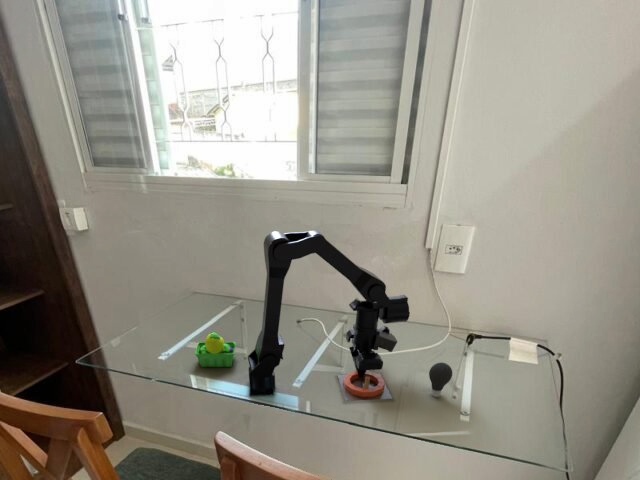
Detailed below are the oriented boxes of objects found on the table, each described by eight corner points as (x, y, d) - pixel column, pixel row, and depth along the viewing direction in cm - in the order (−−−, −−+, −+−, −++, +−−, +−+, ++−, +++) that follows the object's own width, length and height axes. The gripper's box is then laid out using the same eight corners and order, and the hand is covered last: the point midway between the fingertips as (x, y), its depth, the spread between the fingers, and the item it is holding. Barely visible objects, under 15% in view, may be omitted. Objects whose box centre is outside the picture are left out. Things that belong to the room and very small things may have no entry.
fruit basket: (237, 356, 128) (234, 322, 121) (235, 371, 121) (232, 335, 114) (200, 357, 128) (195, 322, 121) (196, 371, 121) (190, 336, 114)
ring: (347, 397, 109) (348, 392, 108) (340, 376, 117) (341, 371, 116) (388, 395, 109) (389, 390, 108) (378, 374, 118) (378, 370, 117)
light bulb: (446, 393, 111) (455, 360, 105) (445, 404, 107) (454, 371, 101) (424, 389, 113) (432, 357, 107) (423, 400, 109) (430, 367, 103)
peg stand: (345, 402, 108) (347, 386, 105) (337, 376, 118) (338, 361, 115) (392, 400, 109) (395, 384, 106) (379, 375, 119) (382, 359, 116)
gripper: (407, 339, 100) (397, 392, 110) (387, 309, 115) (380, 358, 125) (362, 340, 100) (356, 394, 109) (347, 310, 115) (343, 360, 124)
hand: (360, 375), depth 117 cm, fingers closed on ring, 2 cm apart
